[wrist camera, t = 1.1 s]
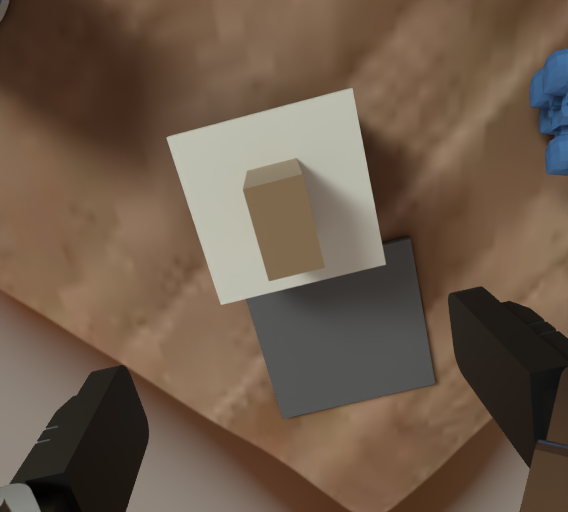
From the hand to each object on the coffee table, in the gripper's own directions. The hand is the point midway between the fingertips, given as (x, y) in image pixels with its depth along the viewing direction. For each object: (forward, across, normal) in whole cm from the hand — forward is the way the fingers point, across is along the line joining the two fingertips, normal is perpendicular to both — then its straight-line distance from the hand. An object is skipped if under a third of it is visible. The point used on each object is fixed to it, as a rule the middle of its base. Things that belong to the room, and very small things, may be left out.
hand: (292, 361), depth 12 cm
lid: (+19, 0, 0) cm, 19 cm away
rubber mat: (+26, -3, +14) cm, 30 cm away
